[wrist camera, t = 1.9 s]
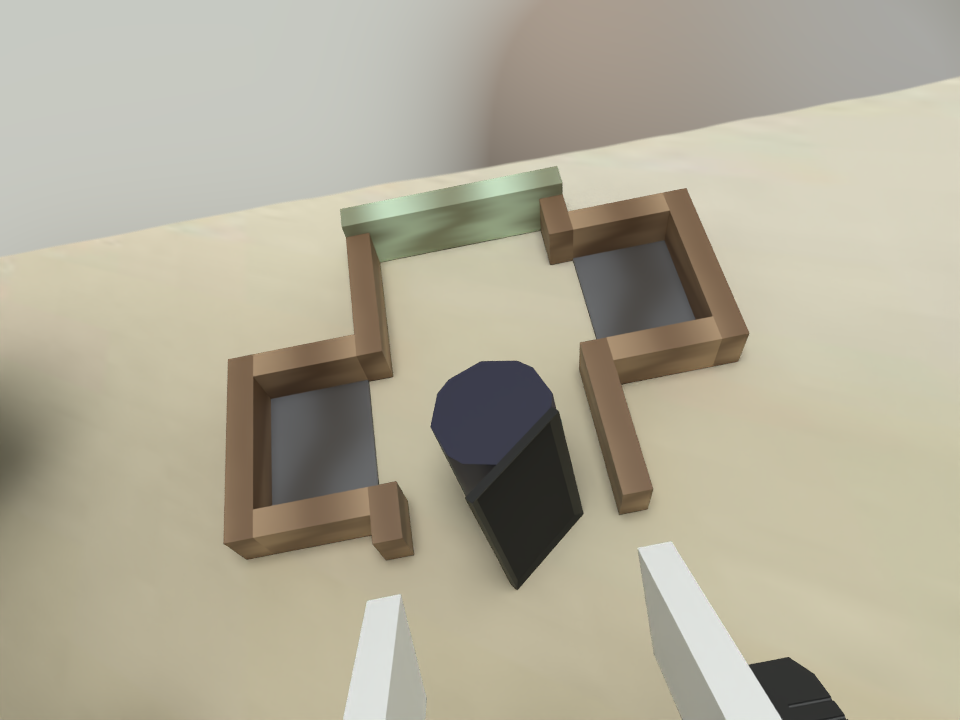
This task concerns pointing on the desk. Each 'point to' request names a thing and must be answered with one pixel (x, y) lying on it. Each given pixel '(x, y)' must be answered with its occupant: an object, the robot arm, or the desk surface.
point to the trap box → (366, 357)
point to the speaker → (509, 460)
